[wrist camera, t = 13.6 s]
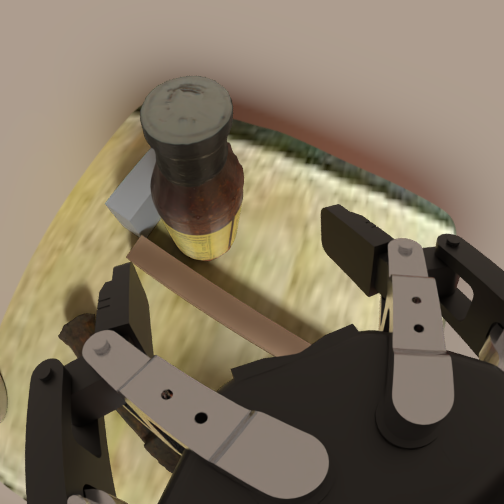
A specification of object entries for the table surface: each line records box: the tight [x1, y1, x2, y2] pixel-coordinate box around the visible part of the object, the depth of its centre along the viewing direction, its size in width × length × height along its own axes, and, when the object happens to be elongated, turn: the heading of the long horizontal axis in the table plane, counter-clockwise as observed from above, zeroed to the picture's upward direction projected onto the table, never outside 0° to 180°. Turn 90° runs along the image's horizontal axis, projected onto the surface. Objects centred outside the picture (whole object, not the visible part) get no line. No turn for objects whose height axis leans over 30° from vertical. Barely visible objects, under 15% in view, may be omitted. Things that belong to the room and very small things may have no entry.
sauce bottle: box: [140, 76, 244, 261], centre depth 21 cm, size 7×6×20 cm
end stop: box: [105, 148, 161, 238], centre depth 28 cm, size 8×3×6 cm, turn 148°
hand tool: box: [58, 313, 181, 473], centre depth 24 cm, size 19×4×5 cm, turn 37°
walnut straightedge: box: [126, 235, 311, 357], centre depth 28 cm, size 2×23×3 cm, turn 58°
